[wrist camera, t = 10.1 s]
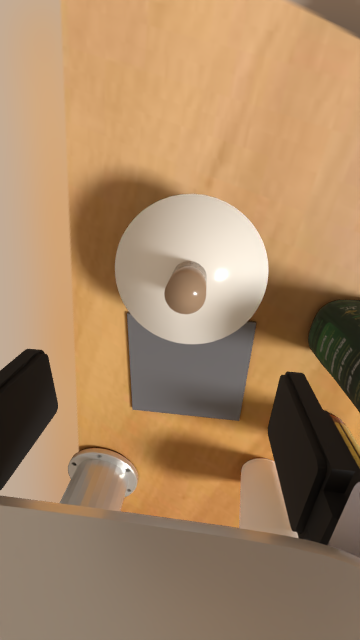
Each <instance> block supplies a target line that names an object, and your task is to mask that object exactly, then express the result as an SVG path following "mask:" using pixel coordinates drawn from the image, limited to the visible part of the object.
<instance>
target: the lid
mask: <svg viewBox="0 0 360 640" xmlns="http://www.w3.org/2000/svg"><path fill="white" fill-rule="evenodd" d="M115 277H116V284H117V287H118V291H119V294H120V296H121V299H122V301H123V303H124V305H125V306H126V308H127V310H128V311H129V312H130V314H131V315H132V316H133V317H134V319H135V320H136V321H137V322H138V323H139V324H141V325H142V326H143V327H144V328H145V329H147V330H148V331H150V332H151V333H153V334H155V335H157V336H159V337H161V338H163V339H166V340H168V341H172V342H176V343H182V344H204V343H209V342H213V341H216V340H219V339H222V338H224V337H226V336H228V335H230V334H232V333H234V332H235V331H237V330H238V329H239V328H241V327H242V326H243V325H244V324H245V323H246V322H247V321H248V320H249V319H250V318H251V317H252V316H253V314H254V313H255V312H256V310H257V308H258V307H259V305H260V303H261V301H262V299H263V296H264V294H265V290H266V286H267V281H268V259H267V253H266V250H265V247H264V244H263V241H262V239H261V237H260V235H259V233H258V231H257V230H256V228H255V227H254V225H253V224H252V223H251V222H250V221H249V220H248V218H247V217H246V216H245V215H244V214H242V213H241V212H240V211H239V210H238V209H236V208H235V207H233V206H232V205H230V204H228V203H227V202H225V201H222V200H220V199H217V198H215V197H211V196H207V195H200V194H181V195H176V196H171V197H168V198H165V199H162V200H159V201H157V202H155V203H153V204H152V205H150V206H148V207H147V208H146V209H144V210H143V211H141V212H140V213H139V214H138V215H137V216H136V217H135V218H134V219H133V221H132V222H131V223H130V224H129V226H128V227H127V229H126V230H125V232H124V234H123V235H122V238H121V240H120V243H119V245H118V249H117V253H116V259H115Z"/></svg>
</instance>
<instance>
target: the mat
mask: <svg viewBox="0 0 360 640" xmlns="http://www.w3.org/2000/svg"><path fill="white" fill-rule="evenodd" d="M127 319H128V337H129V355H130V372H131V390H132V408H133V410H142V411H151V412H161V413H170V414H180V415H189V416H198V417H208V418H217V419H227V420H236V421H239V418H240V413H241V407H242V402H243V396H244V390H245V385H246V379H247V373H248V368H249V362H250V356H251V351H252V345H253V340H254V334H255V328H256V322H248V321H247V322H246V323H245V324H244V325H243V326H242V327H241V328H239V329H238V330H237V331H235V332H234V333H232V334H230V335H228V336H226V337H224V338H222V339H219V340H216V341H213V342H209V343H204V344H182V343H176V342H172V341H168V340H166V339H163V338H161V337H159V336H157V335H155V334H153V333H151V332H150V331H148V330H147V329H145V328H144V327H143V326H142V325H141V324H139V323H138V322H137V321H136V320H135V319H134V317H133V316H132V315H131V314H130V312H128V313H127Z"/></svg>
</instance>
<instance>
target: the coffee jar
mask: <svg viewBox="0 0 360 640" xmlns="http://www.w3.org/2000/svg"><path fill="white" fill-rule="evenodd" d="M308 343H309V347H310V349H311V350H312V351H313V353H314V354H315V356H316V357H317V358H318V360H319V361H320V362H321V364H322V365H323V366H324V367H325V368H326V370H327V371H328V372H329V373H330V374H331V375H332V377H333V378H334V379H335V380H336V382H337V383H338V384H339V386H340V387H341V388H342V390H343V391H344V392H345V393H346V395H347V396H348V397H349V399H350V400H351V401H352V403H353V404H354V405H355V407H356V408H357V409H358V411H359V412H360V300H337V301H333V302H330V303H328V304H326V305H325V306H324V307H322V308H321V309H320V310H319V312H318V313H317V315H316V316H315V318H314V320H313V323H312V325H311V328H310V331H309V337H308Z"/></svg>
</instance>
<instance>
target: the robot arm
mask: <svg viewBox="0 0 360 640" xmlns="http://www.w3.org/2000/svg"><path fill="white" fill-rule="evenodd" d="M57 409H58V402H57V397H56V392H55V388H54V383H53V378H52V373H51V368H50V363H49V358H48V355H47V354H45V353H44V352H43V351H42V350H36V349H26V350H25V351H23V352H22V353H21V354H20V355H19V356H18V357H16V358H15V359H14V360H13V361H12V362H10V363H9V364H8V365H7V366H5V367H4V368H3V369H2V370H1V371H0V490H1V489H2V488H3V487H4V485H5V484H6V483H7V481H8V480H9V478H10V477H11V476H12V474H13V473H14V471H15V470H16V468H17V467H18V466H19V464H20V463H21V462H22V460H23V459H24V457H25V456H26V455H27V453H28V452H29V450H30V449H31V448H32V446H33V445H34V443H35V442H36V440H37V439H38V438H39V436H40V435H41V433H42V432H43V431H44V429H45V428H46V426H47V425H48V423H49V422H50V421H51V419H52V418H53V416H54V415H55V414H56V412H57ZM268 436H269V440H270V445H271V449H272V453H273V457H274V461H275V465H276V469H277V473H278V478H279V482H280V486H281V490H282V494H283V498H284V502H285V506H286V510H287V515H288V519H289V523H290V527H291V529H292V531H293V532H297V534H298V538H295V537H290V536H285V535H279V534H273V533H267V532H260V531H254V530H248V529H241V528H235V527H229V526H222V525H214V524H207V523H200V522H193V521H186V520H179V519H172V518H164V517H157V516H150V515H143V514H135V513H128V512H121V507H122V504H123V500H124V497H126V496H128V495H130V494H131V493H132V492H133V491H134V490H135V488H136V486H137V482H138V473H137V470H136V469H135V467H134V466H133V464H132V463H131V462H130V461H129V460H127V459H126V458H125V457H123V456H122V455H120V454H118V453H116V452H113V451H110V450H107V449H101V448H90V449H85V450H81V451H79V452H78V453H76V454H75V455H74V456H73V457H72V459H71V461H70V463H69V465H68V473H69V476H70V478H71V481H70V483H69V485H68V487H67V489H66V491H65V493H64V495H63V497H62V499H61V501H60V503H53V502H45V501H37V500H29V499H22V498H14V497H6V496H0V640H360V468H359V466H358V465H357V463H356V461H355V459H354V457H353V456H352V454H351V452H350V450H349V448H348V446H347V445H346V443H345V441H344V439H343V437H342V435H341V434H340V432H339V430H338V428H337V426H336V425H335V423H334V421H333V419H332V417H331V416H330V414H329V413H328V412H327V411H324V410H323V409H322V407H321V406H320V404H319V402H318V400H317V398H316V396H315V394H314V392H313V390H312V388H311V387H310V385H309V383H308V381H307V379H306V377H305V375H304V374H303V373H297V372H286V374H285V375H281V376H280V379H279V384H278V388H277V392H276V396H275V400H274V404H273V409H272V413H271V417H270V421H269V425H268Z"/></svg>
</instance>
